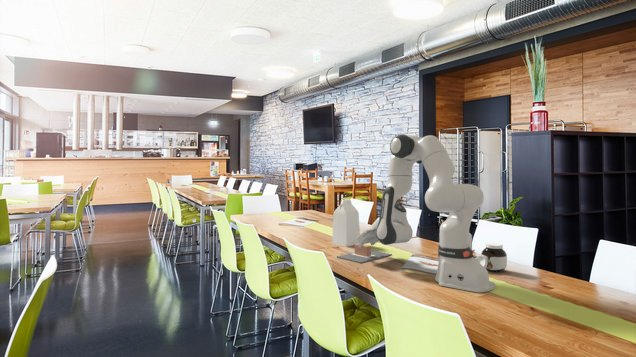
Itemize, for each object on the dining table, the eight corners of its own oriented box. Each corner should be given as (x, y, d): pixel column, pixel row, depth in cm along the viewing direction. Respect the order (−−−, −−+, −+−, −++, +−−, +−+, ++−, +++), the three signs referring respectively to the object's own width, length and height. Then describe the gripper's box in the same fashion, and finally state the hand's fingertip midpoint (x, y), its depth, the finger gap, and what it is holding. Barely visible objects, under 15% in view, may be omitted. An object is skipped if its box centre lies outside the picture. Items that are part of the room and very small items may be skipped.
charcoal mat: (391, 255, 205) (391, 254, 205) (360, 263, 188) (360, 262, 188) (367, 250, 216) (367, 249, 216) (336, 257, 200) (336, 256, 200)
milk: (346, 246, 225) (346, 200, 224) (332, 243, 234) (331, 199, 233) (360, 243, 234) (360, 199, 232) (346, 240, 242) (346, 198, 241)
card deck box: (359, 243, 207) (371, 245, 201) (359, 252, 207) (371, 255, 201) (354, 244, 205) (366, 246, 199) (354, 254, 205) (366, 256, 199)
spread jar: (509, 270, 175) (509, 244, 174) (498, 276, 167) (498, 248, 167) (482, 265, 184) (482, 240, 183) (470, 270, 176) (470, 244, 175)
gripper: (370, 236, 185) (355, 253, 193) (397, 230, 199) (381, 247, 207) (363, 225, 189) (348, 243, 196) (389, 221, 202) (374, 237, 210)
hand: (365, 245), depth 202 cm, fingers open, 8 cm apart
